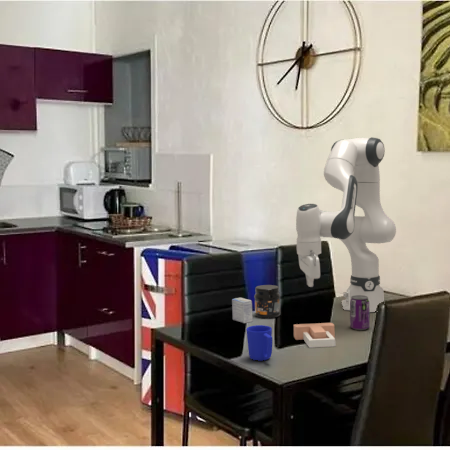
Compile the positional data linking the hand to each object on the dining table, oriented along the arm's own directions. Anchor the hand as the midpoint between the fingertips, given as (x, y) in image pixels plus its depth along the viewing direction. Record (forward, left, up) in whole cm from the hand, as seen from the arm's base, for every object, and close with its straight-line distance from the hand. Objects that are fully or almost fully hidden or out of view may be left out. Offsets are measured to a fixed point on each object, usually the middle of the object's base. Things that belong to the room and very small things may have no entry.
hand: (310, 285), depth 240 cm
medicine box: (-21, -23, -17) cm, 36 cm away
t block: (+12, 0, -17) cm, 21 cm away
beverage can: (-1, +19, -17) cm, 26 cm away
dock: (+14, 0, -17) cm, 22 cm away
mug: (+31, -22, -17) cm, 42 cm away
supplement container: (-27, -12, -17) cm, 34 cm away
